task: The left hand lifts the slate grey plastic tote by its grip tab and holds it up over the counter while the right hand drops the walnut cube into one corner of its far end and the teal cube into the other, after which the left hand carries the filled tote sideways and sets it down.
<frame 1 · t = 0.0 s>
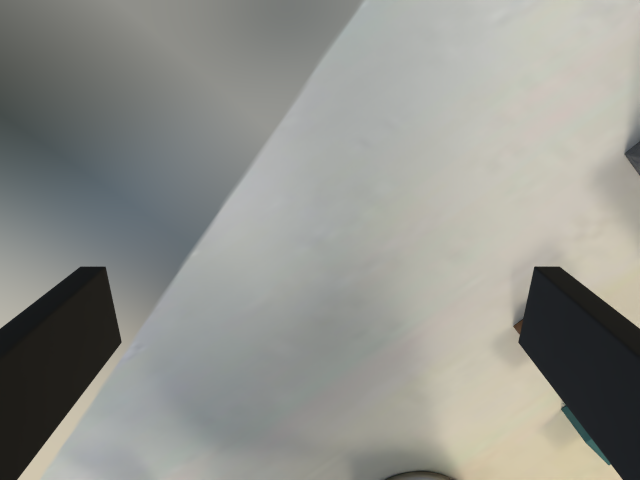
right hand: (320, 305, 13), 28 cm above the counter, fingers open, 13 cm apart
teal cube: (589, 409, 50), on the counter
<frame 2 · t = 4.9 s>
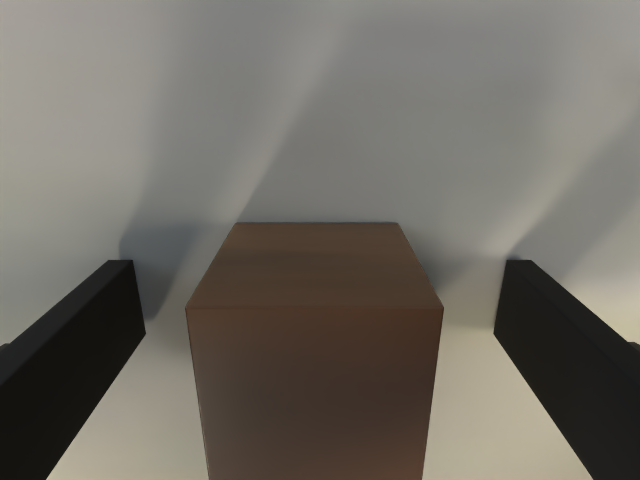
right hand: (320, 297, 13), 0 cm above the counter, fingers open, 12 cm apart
walnut cube: (316, 294, 13), on the counter
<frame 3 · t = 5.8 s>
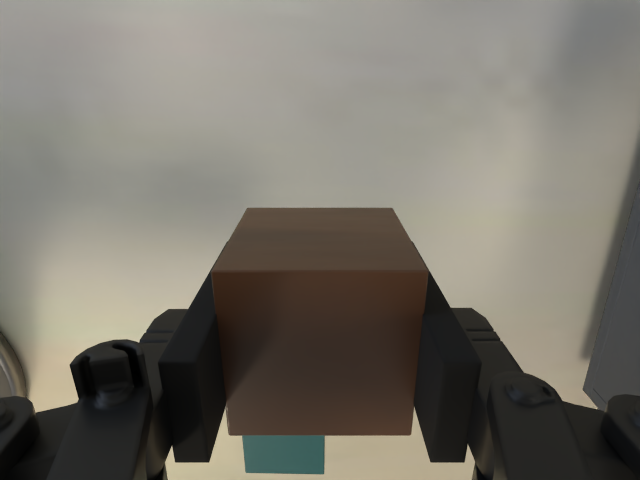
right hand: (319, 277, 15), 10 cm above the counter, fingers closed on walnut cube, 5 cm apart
teal cube: (290, 387, 29), on the counter
walnut cube: (319, 273, 15), point 10 cm above the counter, touching right hand
when the right hand's fingers open (29 cm above the counter, at t = 9.8 s): walnut cube drops 23 cm, resting on bin.
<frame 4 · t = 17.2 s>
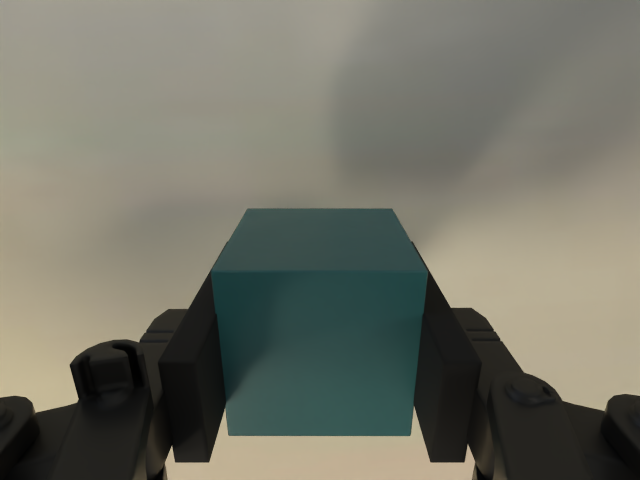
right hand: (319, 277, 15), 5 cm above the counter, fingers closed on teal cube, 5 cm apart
teal cube: (319, 273, 15), point 4 cm above the counter, touching right hand
when the right hand's fingers open (29 cm above the counter, at t = 23.2 s): teal cube drops 25 cm and tips over, resting on bin.
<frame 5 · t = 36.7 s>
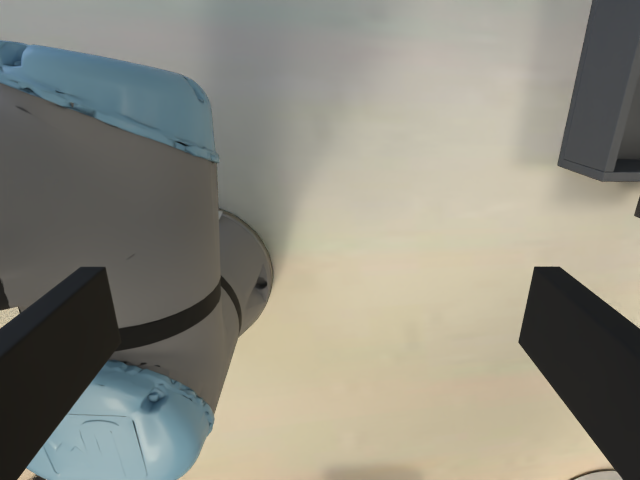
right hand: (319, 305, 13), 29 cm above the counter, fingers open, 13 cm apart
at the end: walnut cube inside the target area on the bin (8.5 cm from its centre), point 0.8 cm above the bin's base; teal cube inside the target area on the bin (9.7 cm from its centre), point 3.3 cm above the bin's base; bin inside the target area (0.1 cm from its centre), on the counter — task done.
